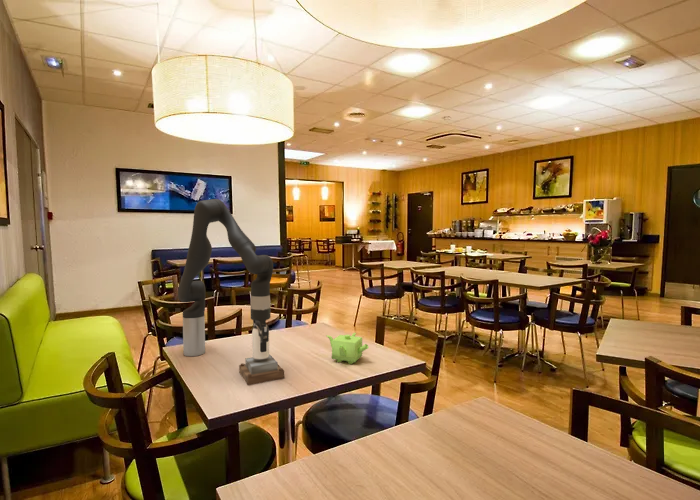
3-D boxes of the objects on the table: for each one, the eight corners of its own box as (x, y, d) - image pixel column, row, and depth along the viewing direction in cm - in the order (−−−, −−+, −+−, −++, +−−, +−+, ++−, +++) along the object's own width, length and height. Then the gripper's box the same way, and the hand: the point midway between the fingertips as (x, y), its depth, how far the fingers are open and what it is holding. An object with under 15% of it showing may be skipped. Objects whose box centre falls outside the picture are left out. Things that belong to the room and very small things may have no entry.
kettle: (325, 357, 171) (325, 332, 170) (354, 353, 177) (354, 329, 176) (338, 368, 157) (338, 341, 157) (369, 363, 163) (369, 337, 163)
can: (265, 360, 146) (264, 329, 145) (249, 359, 147) (249, 328, 146) (271, 354, 152) (271, 325, 151) (256, 353, 153) (256, 324, 152)
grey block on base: (239, 372, 153) (239, 357, 152) (273, 366, 159) (273, 352, 159) (247, 385, 140) (247, 369, 140) (284, 378, 147) (284, 363, 147)
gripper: (246, 304, 153) (246, 345, 154) (255, 311, 140) (256, 356, 141) (264, 302, 156) (265, 342, 157) (275, 309, 144) (275, 353, 145)
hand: (260, 348), depth 149 cm, fingers closed on can, 6 cm apart
